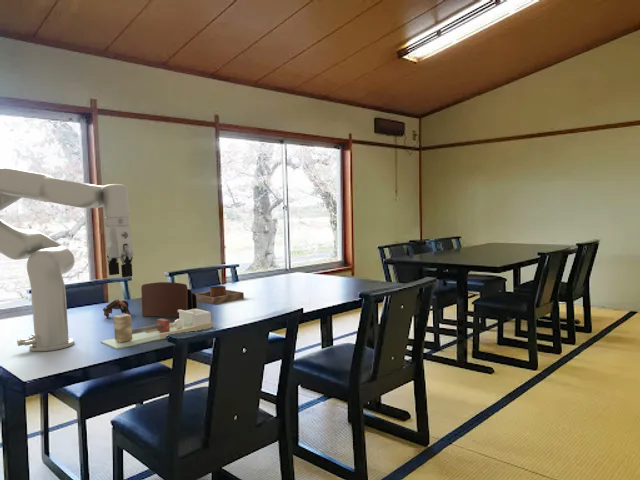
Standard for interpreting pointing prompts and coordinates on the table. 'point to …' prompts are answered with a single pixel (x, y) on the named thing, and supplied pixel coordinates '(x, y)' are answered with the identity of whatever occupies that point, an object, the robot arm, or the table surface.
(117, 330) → the rod
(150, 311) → the letter holder
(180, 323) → the ball
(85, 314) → the table surface
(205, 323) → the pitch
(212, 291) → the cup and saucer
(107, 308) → the brown jagged arch
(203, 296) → the tray frame
